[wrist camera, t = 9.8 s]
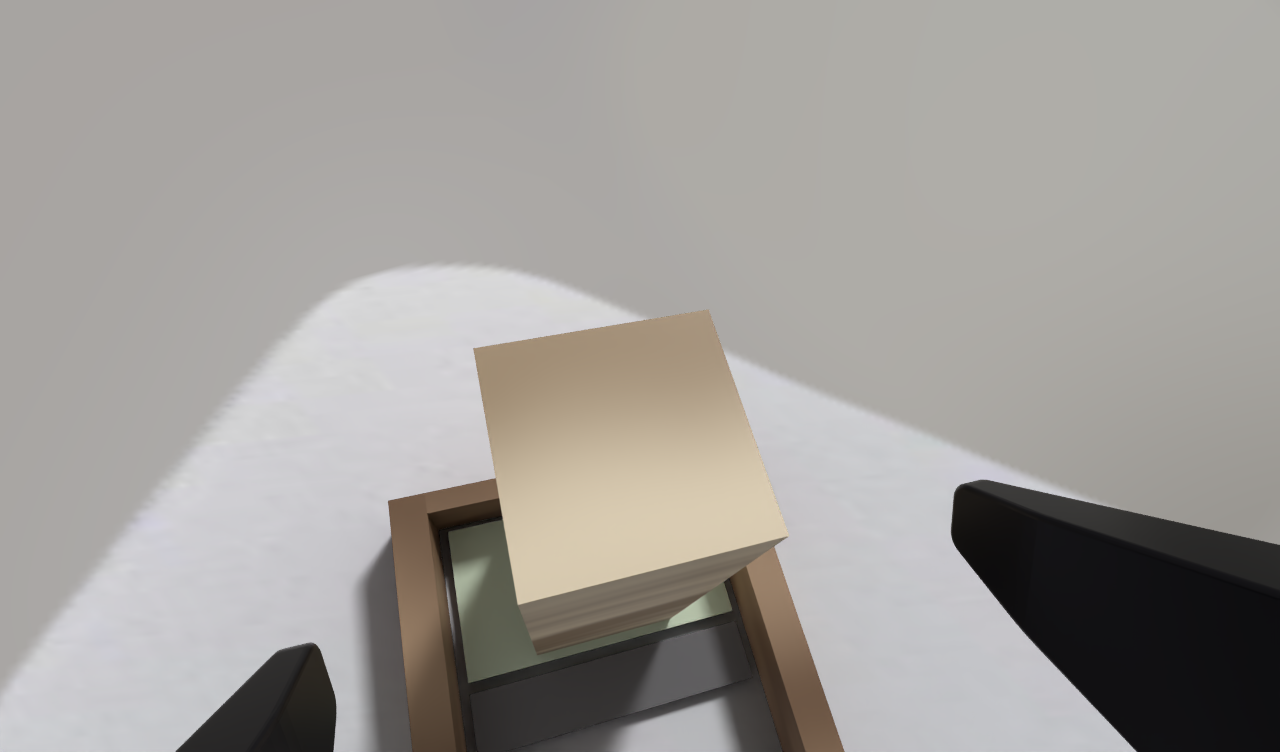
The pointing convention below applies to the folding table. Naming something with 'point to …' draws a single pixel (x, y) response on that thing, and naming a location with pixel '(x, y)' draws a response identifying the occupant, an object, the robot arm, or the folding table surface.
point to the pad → (496, 618)
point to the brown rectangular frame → (431, 651)
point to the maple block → (622, 474)
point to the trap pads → (607, 688)
